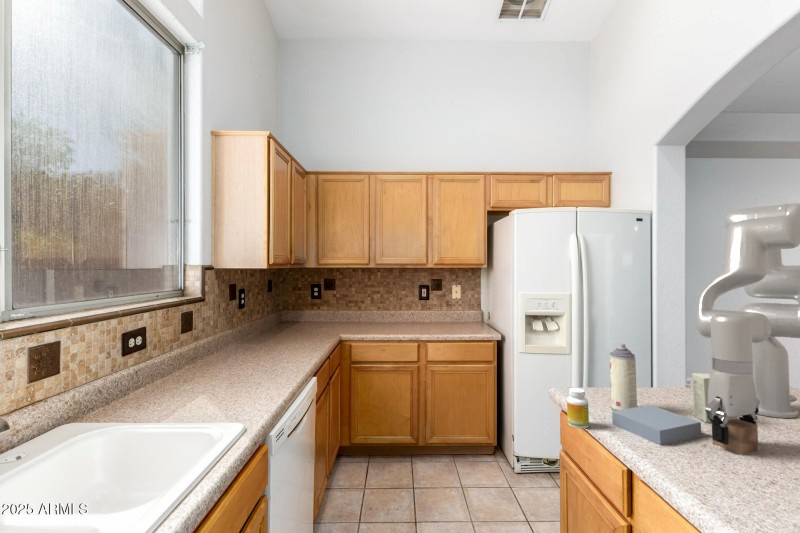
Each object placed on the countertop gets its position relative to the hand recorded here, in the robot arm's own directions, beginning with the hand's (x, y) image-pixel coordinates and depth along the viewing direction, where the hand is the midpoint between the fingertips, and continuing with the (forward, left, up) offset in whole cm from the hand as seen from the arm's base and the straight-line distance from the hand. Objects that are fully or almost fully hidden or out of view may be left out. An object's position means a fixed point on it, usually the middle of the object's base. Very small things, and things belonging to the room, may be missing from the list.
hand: (734, 438), depth 93 cm
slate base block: (+8, -14, -2) cm, 16 cm away
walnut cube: (0, 0, -2) cm, 2 cm away
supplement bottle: (+24, -24, -2) cm, 34 cm away
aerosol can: (+3, -28, -2) cm, 28 cm away
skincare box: (-12, -14, -2) cm, 19 cm away
